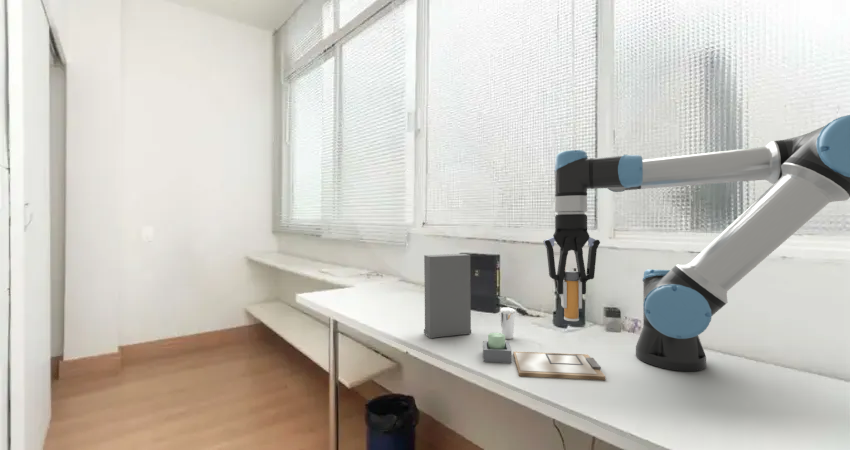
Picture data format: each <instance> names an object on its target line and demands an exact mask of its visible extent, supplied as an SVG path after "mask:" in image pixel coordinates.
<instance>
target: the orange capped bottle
mask: <svg viewBox="0 0 850 450" xmlns="http://www.w3.org/2000/svg"><path fill="white" fill-rule="evenodd" d="M564 281H565V282H567V308H563V319H564V321H566V322H567V321H568V322H578V321H579V320H580V317H579V315H580V313H579V312H580V308H578V282H579V272H578V270H565V273H564Z"/></svg>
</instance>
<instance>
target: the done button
mask: <svg viewBox="0 0 850 450" xmlns="http://www.w3.org/2000/svg"><path fill="white" fill-rule="evenodd" d="M487 341H488V349H505V342H506V339H505V335H504V334H502V332H490V333H488V334H487Z"/></svg>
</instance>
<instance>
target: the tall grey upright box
mask: <svg viewBox="0 0 850 450" xmlns="http://www.w3.org/2000/svg"><path fill="white" fill-rule="evenodd" d="M423 256H424V259H423V261H424V264H423V265H424V329H423V333H424V335H426V336H427V337H429V339H433V338H441V337H442V338H443V337H451V336H459V335H460V336H462V335H470V334H472V327H471V326H472V323H471V322H472V318H471V317H472V314H471V312H472V311H471V310H472V308H471V307H472V306H471V304H472V303H471V301H472V299H471V298H472V297H471V296H472V295H471V254H466V253H452V254H450V253H449V254H448V253H447V254H445V253H444V254H424V255H423Z"/></svg>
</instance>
